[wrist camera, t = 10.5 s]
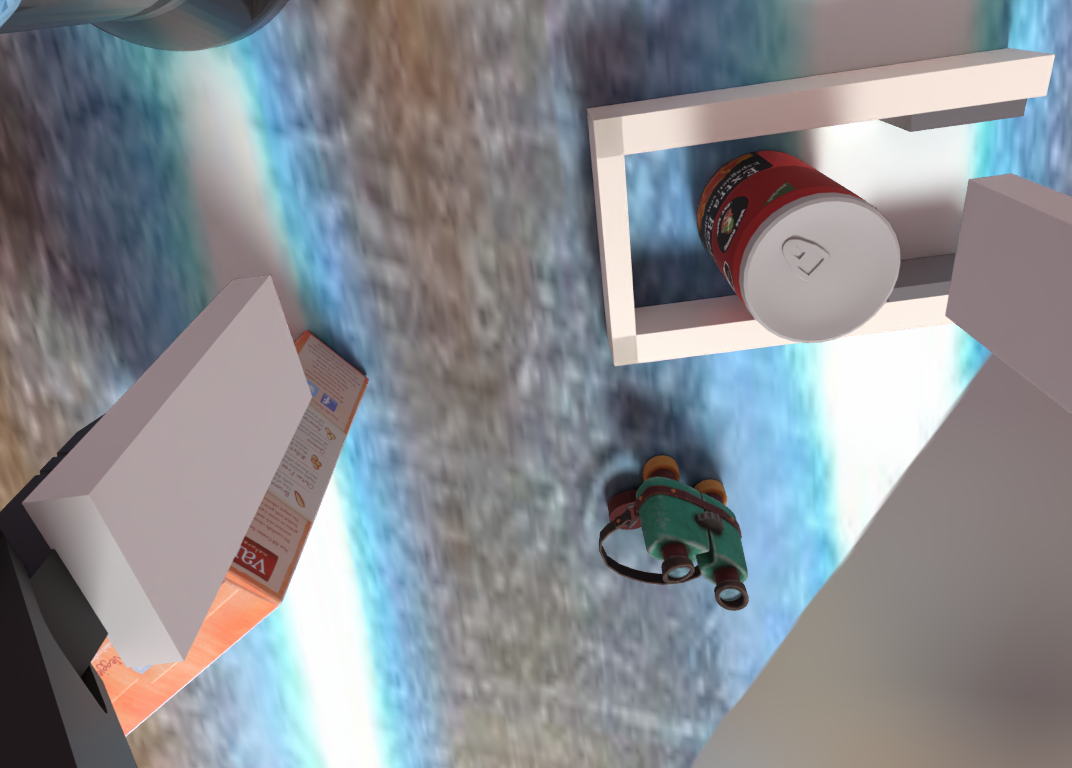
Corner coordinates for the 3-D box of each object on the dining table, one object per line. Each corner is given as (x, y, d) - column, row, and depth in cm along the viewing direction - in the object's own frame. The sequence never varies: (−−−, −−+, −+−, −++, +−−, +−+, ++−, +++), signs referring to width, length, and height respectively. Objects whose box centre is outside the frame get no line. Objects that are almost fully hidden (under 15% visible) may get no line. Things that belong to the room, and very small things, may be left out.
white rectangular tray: (586, 108, 41) (593, 120, 37) (1008, 47, 40) (1055, 54, 36) (607, 338, 48) (614, 366, 45) (963, 292, 47) (998, 317, 44)
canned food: (728, 128, 42) (791, 172, 32) (843, 174, 43) (936, 229, 34) (672, 245, 45) (714, 317, 36) (780, 284, 47) (848, 362, 37)
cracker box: (303, 322, 47) (171, 536, 29) (373, 378, 49) (291, 609, 31) (186, 444, 52) (10, 695, 34) (255, 490, 54) (125, 748, 36)
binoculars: (586, 627, 49) (674, 543, 44) (582, 516, 57) (655, 435, 52) (689, 669, 51) (784, 594, 46) (671, 557, 60) (749, 483, 55)
